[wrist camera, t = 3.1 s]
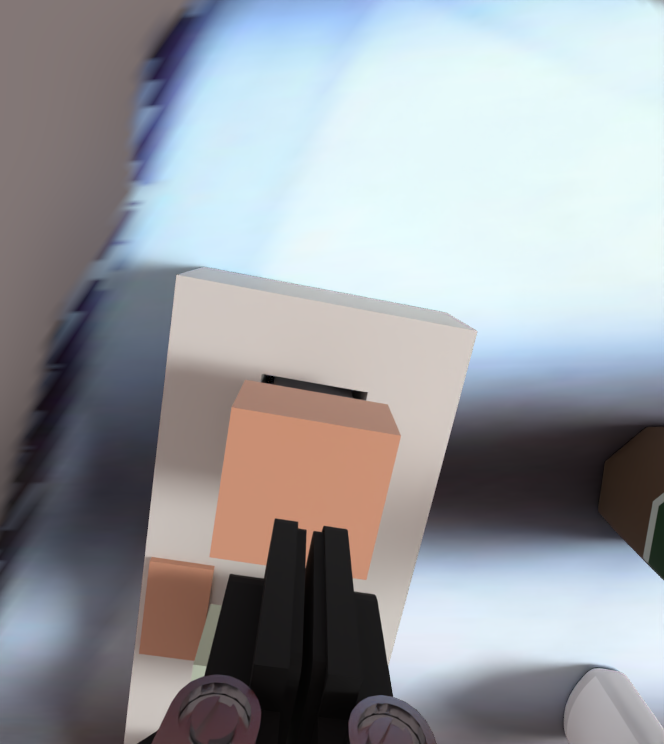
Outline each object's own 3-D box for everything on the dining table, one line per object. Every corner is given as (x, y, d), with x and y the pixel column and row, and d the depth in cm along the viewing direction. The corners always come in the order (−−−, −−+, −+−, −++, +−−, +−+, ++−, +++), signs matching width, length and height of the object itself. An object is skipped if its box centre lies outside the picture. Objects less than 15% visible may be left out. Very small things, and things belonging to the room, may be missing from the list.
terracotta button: (350, 471, 25) (366, 580, 17) (243, 454, 24) (209, 557, 17) (372, 369, 23) (401, 435, 16) (260, 349, 23) (231, 407, 15)
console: (332, 770, 33) (335, 869, 28) (143, 748, 32) (110, 847, 27) (446, 312, 25) (479, 332, 20) (204, 266, 24) (174, 275, 19)
